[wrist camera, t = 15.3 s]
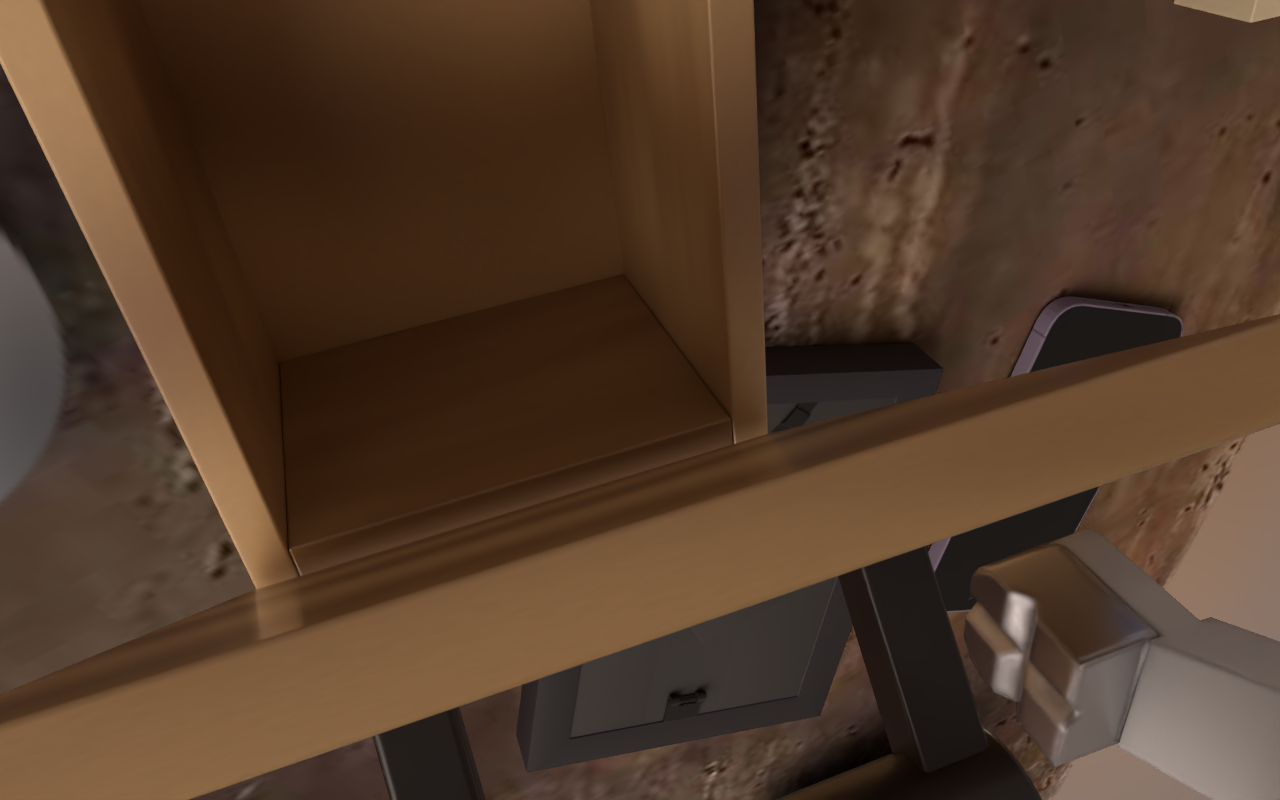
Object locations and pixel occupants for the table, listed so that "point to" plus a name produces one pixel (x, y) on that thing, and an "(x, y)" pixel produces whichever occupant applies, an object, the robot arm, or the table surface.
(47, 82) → the chest
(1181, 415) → the chest lid
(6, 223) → the table surface
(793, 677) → the picture frame
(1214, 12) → the plate
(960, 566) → the smartphone
